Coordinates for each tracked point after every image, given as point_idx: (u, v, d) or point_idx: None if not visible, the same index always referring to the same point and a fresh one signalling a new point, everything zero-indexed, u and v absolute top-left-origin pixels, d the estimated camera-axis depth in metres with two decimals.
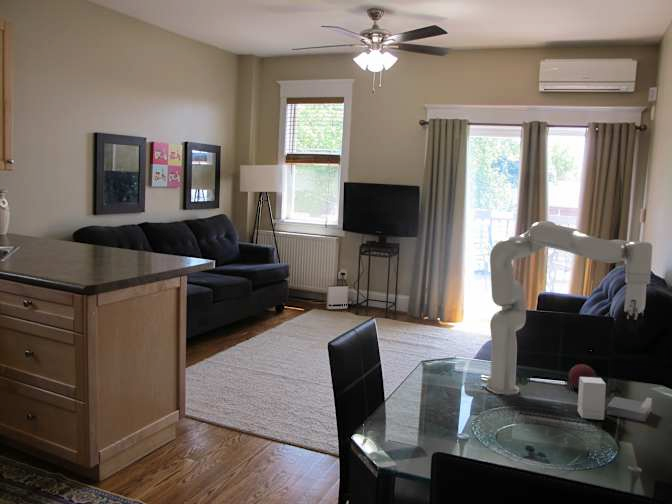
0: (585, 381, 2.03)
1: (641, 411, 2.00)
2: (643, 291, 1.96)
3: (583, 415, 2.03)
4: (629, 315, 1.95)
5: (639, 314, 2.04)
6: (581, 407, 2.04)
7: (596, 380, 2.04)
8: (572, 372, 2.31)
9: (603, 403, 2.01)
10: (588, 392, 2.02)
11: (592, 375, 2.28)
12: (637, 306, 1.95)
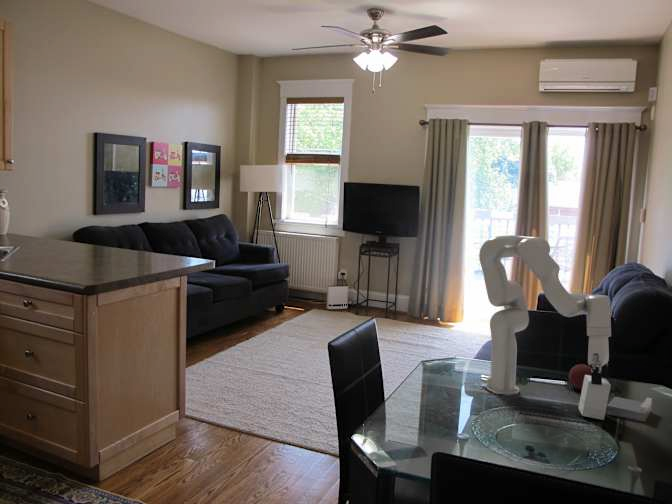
0: None
1: (641, 411, 2.00)
2: (605, 344, 1.99)
3: (584, 413, 2.03)
4: (593, 369, 1.97)
5: (604, 366, 2.06)
6: (583, 405, 2.03)
7: None
8: (572, 372, 2.31)
9: (605, 404, 2.01)
10: (592, 391, 2.01)
11: None
12: (600, 359, 1.98)
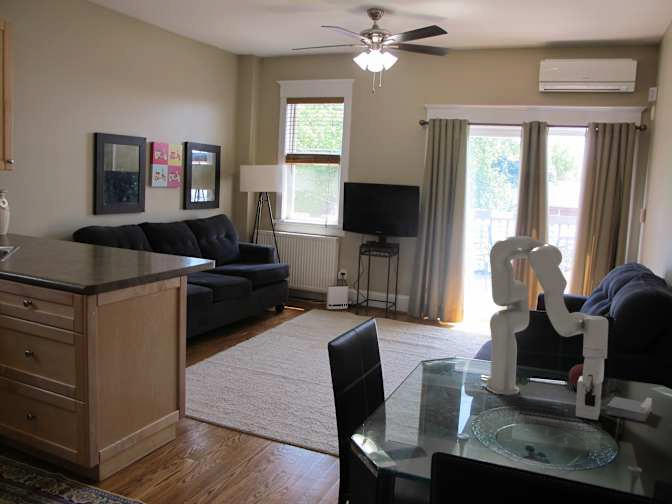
0: (581, 379, 2.04)
1: (641, 411, 2.00)
2: (600, 366, 2.00)
3: (577, 413, 2.04)
4: (587, 391, 1.99)
5: None
6: (576, 405, 2.05)
7: None
8: (572, 372, 2.31)
9: (597, 403, 2.01)
10: (582, 391, 2.03)
11: None
12: (594, 382, 1.99)
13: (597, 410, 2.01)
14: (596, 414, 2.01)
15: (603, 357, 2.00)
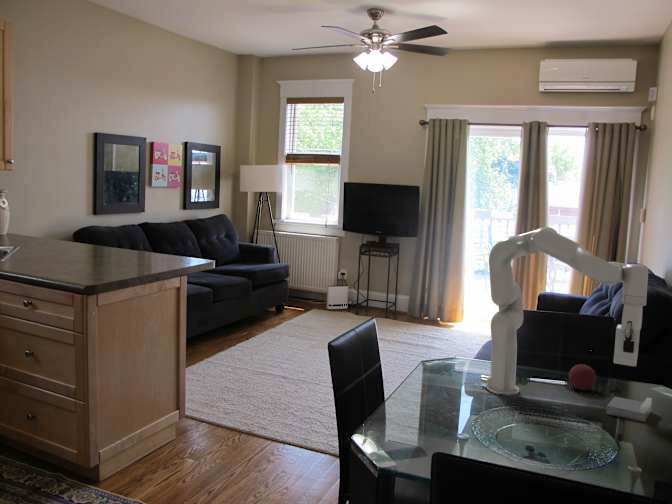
0: (619, 327, 2.06)
1: (641, 411, 2.00)
2: (639, 312, 2.02)
3: (615, 360, 2.06)
4: (626, 337, 2.01)
5: None
6: (614, 353, 2.07)
7: None
8: (572, 372, 2.31)
9: (636, 350, 2.03)
10: (620, 338, 2.04)
11: (592, 375, 2.28)
12: (633, 328, 2.01)
13: (635, 356, 2.03)
14: (634, 360, 2.03)
15: (643, 304, 2.01)
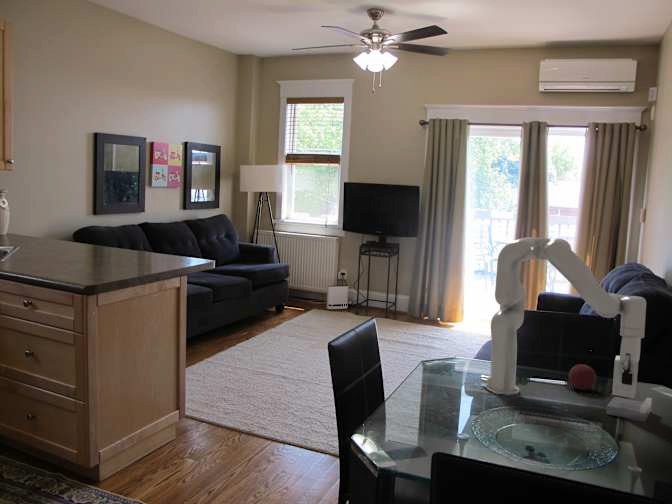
0: (618, 358, 2.07)
1: (641, 411, 2.00)
2: (637, 345, 2.03)
3: (613, 392, 2.07)
4: (624, 369, 2.02)
5: None
6: (613, 384, 2.08)
7: None
8: (572, 372, 2.31)
9: (634, 382, 2.04)
10: (619, 369, 2.06)
11: (592, 375, 2.28)
12: (632, 361, 2.02)
13: (634, 388, 2.04)
14: (633, 392, 2.04)
15: (641, 336, 2.02)
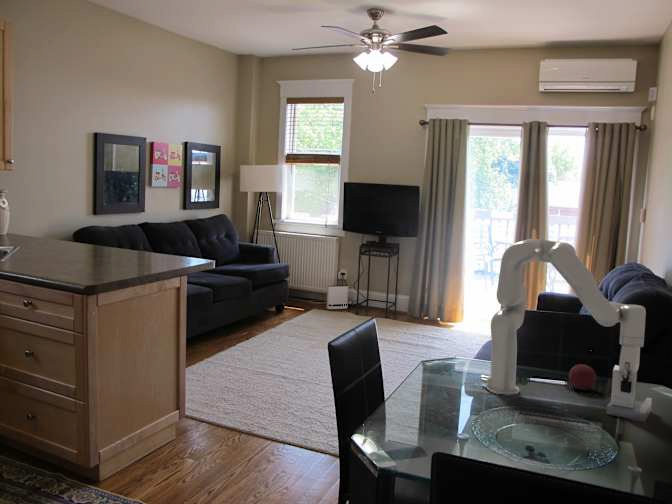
0: (616, 368, 2.08)
1: (641, 411, 2.00)
2: (637, 353, 2.03)
3: (612, 401, 2.07)
4: (623, 377, 2.02)
5: None
6: (611, 394, 2.09)
7: None
8: (572, 372, 2.31)
9: (633, 391, 2.04)
10: (617, 379, 2.06)
11: (592, 375, 2.28)
12: (631, 369, 2.02)
13: (633, 398, 2.04)
14: (631, 402, 2.04)
15: (640, 345, 2.03)
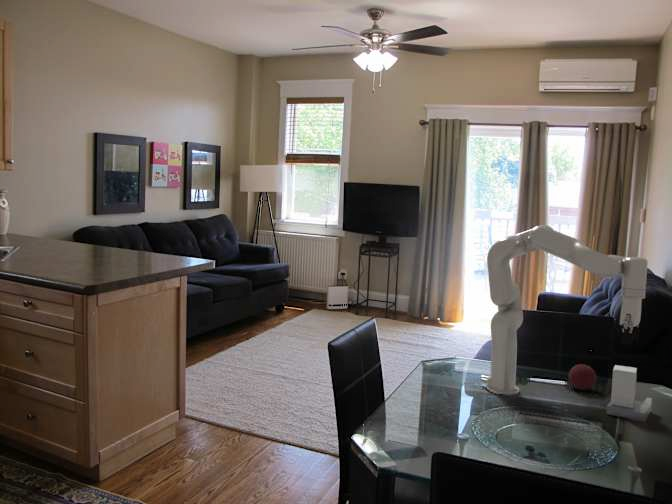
0: (616, 368, 2.08)
1: (641, 411, 2.00)
2: (638, 305, 2.03)
3: (612, 401, 2.07)
4: (624, 329, 2.01)
5: (634, 327, 2.10)
6: (611, 394, 2.09)
7: (628, 369, 2.07)
8: (572, 372, 2.31)
9: (632, 391, 2.04)
10: (617, 379, 2.06)
11: (592, 375, 2.28)
12: (632, 320, 2.01)
13: (632, 398, 2.04)
14: (631, 402, 2.04)
15: (642, 297, 2.02)
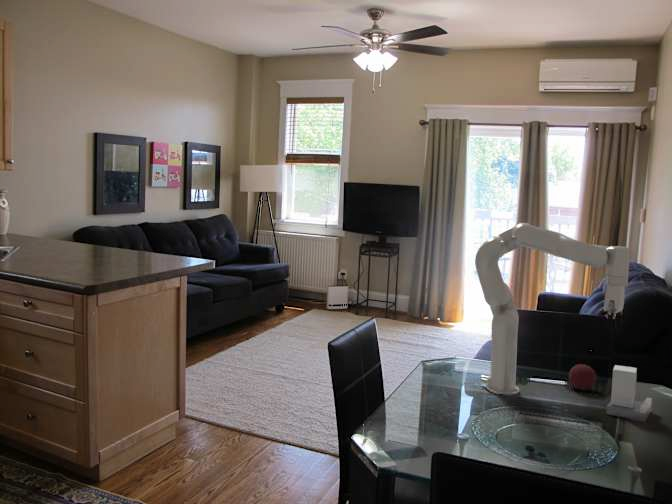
0: (616, 368, 2.08)
1: (641, 411, 2.00)
2: (621, 292, 2.11)
3: (612, 401, 2.07)
4: (608, 314, 2.10)
5: (618, 314, 2.19)
6: (611, 394, 2.09)
7: (628, 369, 2.07)
8: (572, 372, 2.31)
9: (632, 391, 2.04)
10: (617, 379, 2.06)
11: (592, 375, 2.28)
12: (615, 306, 2.10)
13: (632, 398, 2.04)
14: (631, 402, 2.04)
15: (624, 284, 2.11)
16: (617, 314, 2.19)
